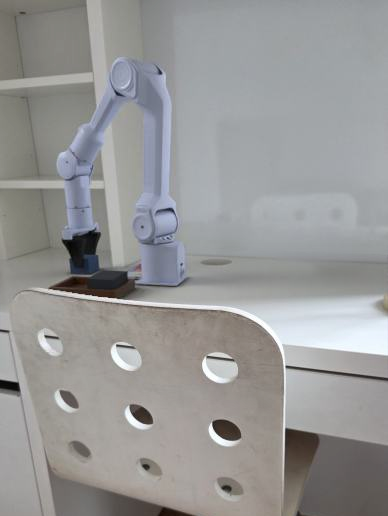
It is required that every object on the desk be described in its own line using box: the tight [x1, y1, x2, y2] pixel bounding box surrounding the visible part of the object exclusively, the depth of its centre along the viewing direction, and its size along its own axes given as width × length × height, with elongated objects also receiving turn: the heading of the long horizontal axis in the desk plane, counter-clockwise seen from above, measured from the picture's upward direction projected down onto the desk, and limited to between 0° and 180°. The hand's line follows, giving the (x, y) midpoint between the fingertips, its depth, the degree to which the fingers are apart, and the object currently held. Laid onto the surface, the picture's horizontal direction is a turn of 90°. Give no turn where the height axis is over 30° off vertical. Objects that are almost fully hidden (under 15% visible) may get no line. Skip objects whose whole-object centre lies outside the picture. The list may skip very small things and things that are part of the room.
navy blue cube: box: [68, 254, 100, 275], centre depth 127 cm, size 5×5×4 cm
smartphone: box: [127, 263, 142, 280], centre depth 125 cm, size 7×1×15 cm
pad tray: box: [48, 275, 136, 300], centre depth 108 cm, size 15×10×2 cm
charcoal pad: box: [86, 269, 128, 290], centre depth 107 cm, size 6×8×3 cm
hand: (84, 264), depth 127 cm, fingers closed on navy blue cube, 5 cm apart
